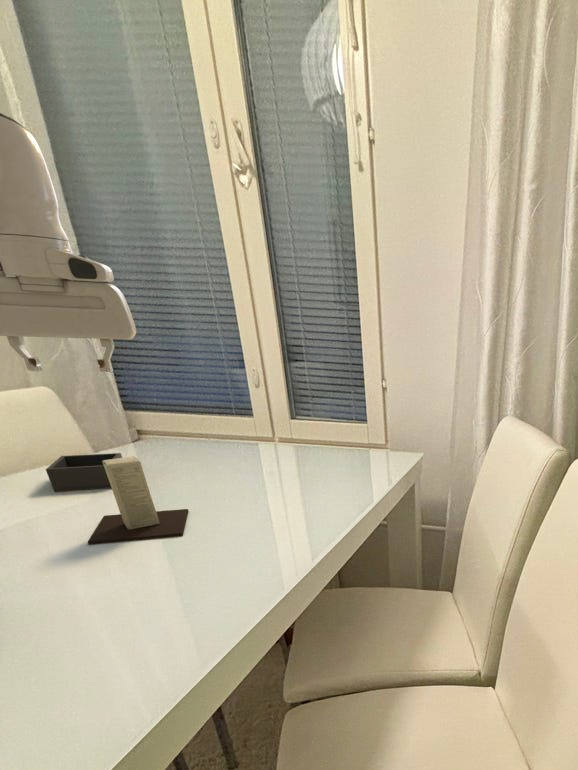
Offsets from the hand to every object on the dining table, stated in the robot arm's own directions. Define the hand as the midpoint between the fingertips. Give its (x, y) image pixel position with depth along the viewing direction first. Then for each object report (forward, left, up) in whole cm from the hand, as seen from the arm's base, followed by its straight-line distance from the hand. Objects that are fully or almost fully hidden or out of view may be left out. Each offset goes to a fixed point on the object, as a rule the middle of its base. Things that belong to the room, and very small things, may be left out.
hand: (71, 371), depth 85 cm
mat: (+4, -2, -25) cm, 25 cm away
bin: (-10, +33, -25) cm, 42 cm away
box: (+3, -2, -24) cm, 25 cm away
